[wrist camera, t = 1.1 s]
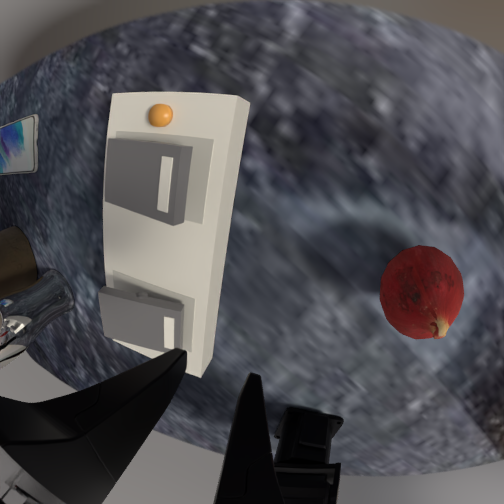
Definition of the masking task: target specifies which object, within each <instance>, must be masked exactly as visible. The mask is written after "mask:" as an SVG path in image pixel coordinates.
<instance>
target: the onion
mask: <svg viewBox="0 0 504 504" xmlns="http://www.w3.org/2000/svg"><path fill="white" fill-rule="evenodd" d="M463 298H464V288H463V280H462V276H461V273H460V271H459V270H458V268H457V267H456V265H455V264H454V262H453V260H452V259H451V257H449V256H448V255H446V254H445V253H443V252H442V251H440V250H439V249H437V248H435V247H429V246H421V245H418V246H415V247H412V248H408V249H405V250H402V251H401V252H400V253H399V254H398V255H397V256H395V257H394V258H393V259H392V260H391V261H390V262H389V263H388V265H387V267H386V269H385V271H384V273H383V275H382V277H381V286H380V302H381V305H382V308H383V311H384V314H385V316H386V319H387V320H388V322H389V323H390V324H391V325H392V326H393V327H394V328H395V329H396V330H397V331H399V332H400V333H401V334H403V335H406V336H408V337H411V338H414V339H426V338H432V337H434V339H440V338H442V337H444V336H445V335H446V332H447V330H448V328H449V327H450V326H451V324H452V323H453V321H454V320H455V318H456V317H457V315H458V313H459V311H460V308H461V305H462V301H463Z"/></svg>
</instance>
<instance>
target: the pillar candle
mask: <svg viewBox="0 0 504 504" xmlns="http://www.w3.org/2000/svg"><path fill="white" fill-rule="evenodd" d="M36 279H37V268H36V262H35V259H34V255H33V253H32V250H31V247H30V245H29V242H28V240H27V238H26V236H25V235H24V234H23V232H22V231H21V230H20V229H19V228H18V227H16V226H12V227H9V228H7V229H4V230H2V231H0V296H2V295H4V294H7V293H10V292H12V291H15V290H18V289H21V288H24V287H27V286H29V285H31V284H32V283H34V282H36Z"/></svg>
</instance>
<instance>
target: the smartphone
mask: <svg viewBox="0 0 504 504" xmlns="http://www.w3.org/2000/svg"><path fill="white" fill-rule="evenodd" d="M37 139H38V115H37V114H33V115H31V116H28V117H25V118H23V119H20V120H17V121H15V122H12V123H10V124H7V125H5V126H2V127H0V175H7V174H19V173H34V172H36V171H37V169H38V146H36V145H37Z"/></svg>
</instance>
